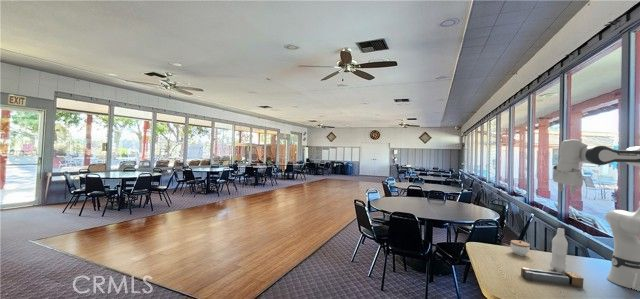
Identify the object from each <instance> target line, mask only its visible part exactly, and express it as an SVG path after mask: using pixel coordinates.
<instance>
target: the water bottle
mask: <svg viewBox="0 0 640 299" xmlns="http://www.w3.org/2000/svg"><path fill="white" fill-rule="evenodd" d="M565 234H566V233H565V228H560V227H557V230H556V235H555V236H554V237H553V238H552V240H551V260H550V270H552V271H555V272H560V273H564V271H567V264H566V262H567V260H566V258H567V256H568V245H569V243H568V240H567V238H566V236H565Z"/></svg>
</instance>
